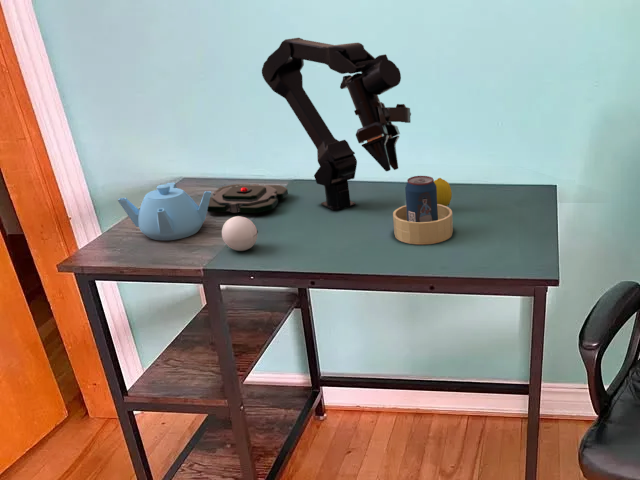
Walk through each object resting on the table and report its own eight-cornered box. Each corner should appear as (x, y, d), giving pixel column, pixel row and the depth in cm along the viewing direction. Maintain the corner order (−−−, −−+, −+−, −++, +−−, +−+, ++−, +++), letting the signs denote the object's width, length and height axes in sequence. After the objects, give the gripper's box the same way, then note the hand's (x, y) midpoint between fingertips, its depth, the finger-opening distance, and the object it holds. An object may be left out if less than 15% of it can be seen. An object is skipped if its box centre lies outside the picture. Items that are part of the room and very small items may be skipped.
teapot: (223, 227, 167) (214, 182, 162) (168, 248, 156) (156, 200, 151) (180, 216, 174) (170, 172, 169) (125, 235, 163) (112, 189, 158)
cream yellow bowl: (383, 233, 163) (381, 212, 161) (428, 219, 171) (427, 199, 168) (418, 249, 155) (416, 227, 152) (464, 234, 162) (464, 213, 160)
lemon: (453, 206, 179) (452, 174, 175) (450, 214, 174) (449, 181, 170) (431, 205, 179) (430, 174, 175) (427, 213, 175) (426, 181, 170)
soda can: (422, 223, 167) (419, 173, 161) (444, 230, 163) (442, 178, 157) (401, 232, 162) (398, 180, 156) (423, 239, 159) (421, 186, 152)
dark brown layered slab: (226, 193, 189) (223, 175, 187) (292, 194, 188) (290, 177, 185) (197, 216, 174) (193, 197, 172) (269, 218, 172) (266, 199, 170)
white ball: (255, 256, 152) (249, 223, 149) (220, 256, 152) (213, 223, 149) (267, 238, 161) (262, 207, 157) (235, 238, 161) (228, 207, 157)
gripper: (391, 85, 149) (418, 158, 153) (407, 91, 167) (431, 156, 171) (343, 104, 151) (371, 176, 155) (363, 108, 169) (388, 173, 173)
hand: (392, 170), depth 163 cm, fingers open, 9 cm apart
